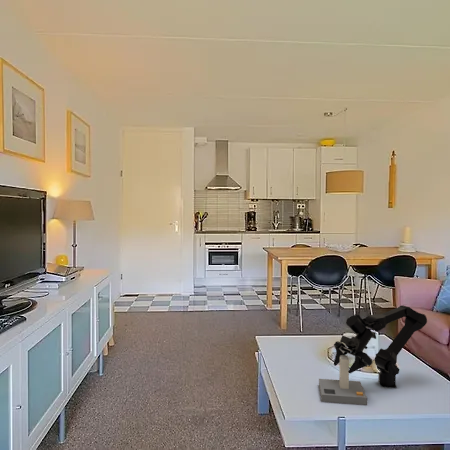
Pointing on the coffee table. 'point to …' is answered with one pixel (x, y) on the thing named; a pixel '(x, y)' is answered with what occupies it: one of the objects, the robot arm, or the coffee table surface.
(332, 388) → the socket board
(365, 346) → the robot arm
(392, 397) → the coffee table surface
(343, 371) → the plug
